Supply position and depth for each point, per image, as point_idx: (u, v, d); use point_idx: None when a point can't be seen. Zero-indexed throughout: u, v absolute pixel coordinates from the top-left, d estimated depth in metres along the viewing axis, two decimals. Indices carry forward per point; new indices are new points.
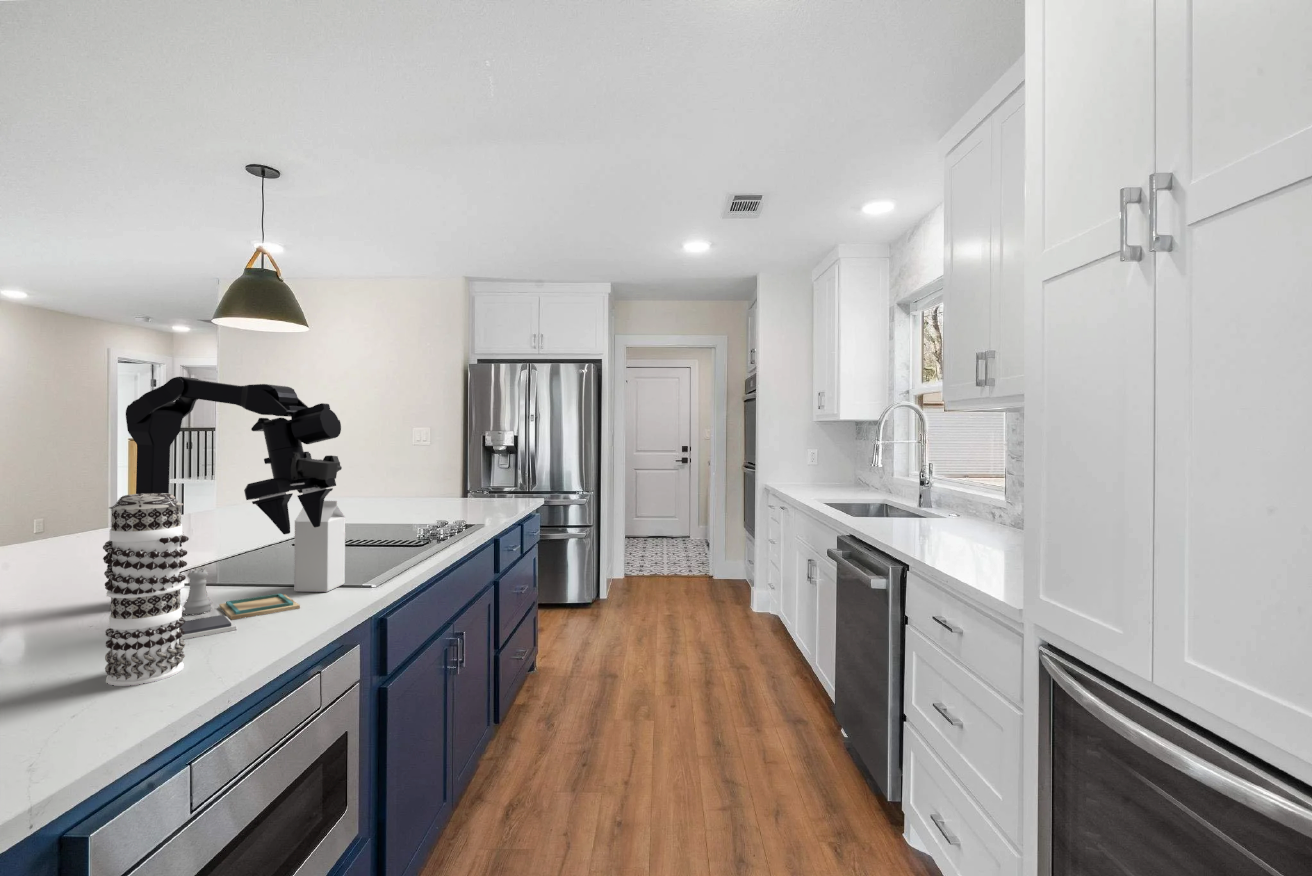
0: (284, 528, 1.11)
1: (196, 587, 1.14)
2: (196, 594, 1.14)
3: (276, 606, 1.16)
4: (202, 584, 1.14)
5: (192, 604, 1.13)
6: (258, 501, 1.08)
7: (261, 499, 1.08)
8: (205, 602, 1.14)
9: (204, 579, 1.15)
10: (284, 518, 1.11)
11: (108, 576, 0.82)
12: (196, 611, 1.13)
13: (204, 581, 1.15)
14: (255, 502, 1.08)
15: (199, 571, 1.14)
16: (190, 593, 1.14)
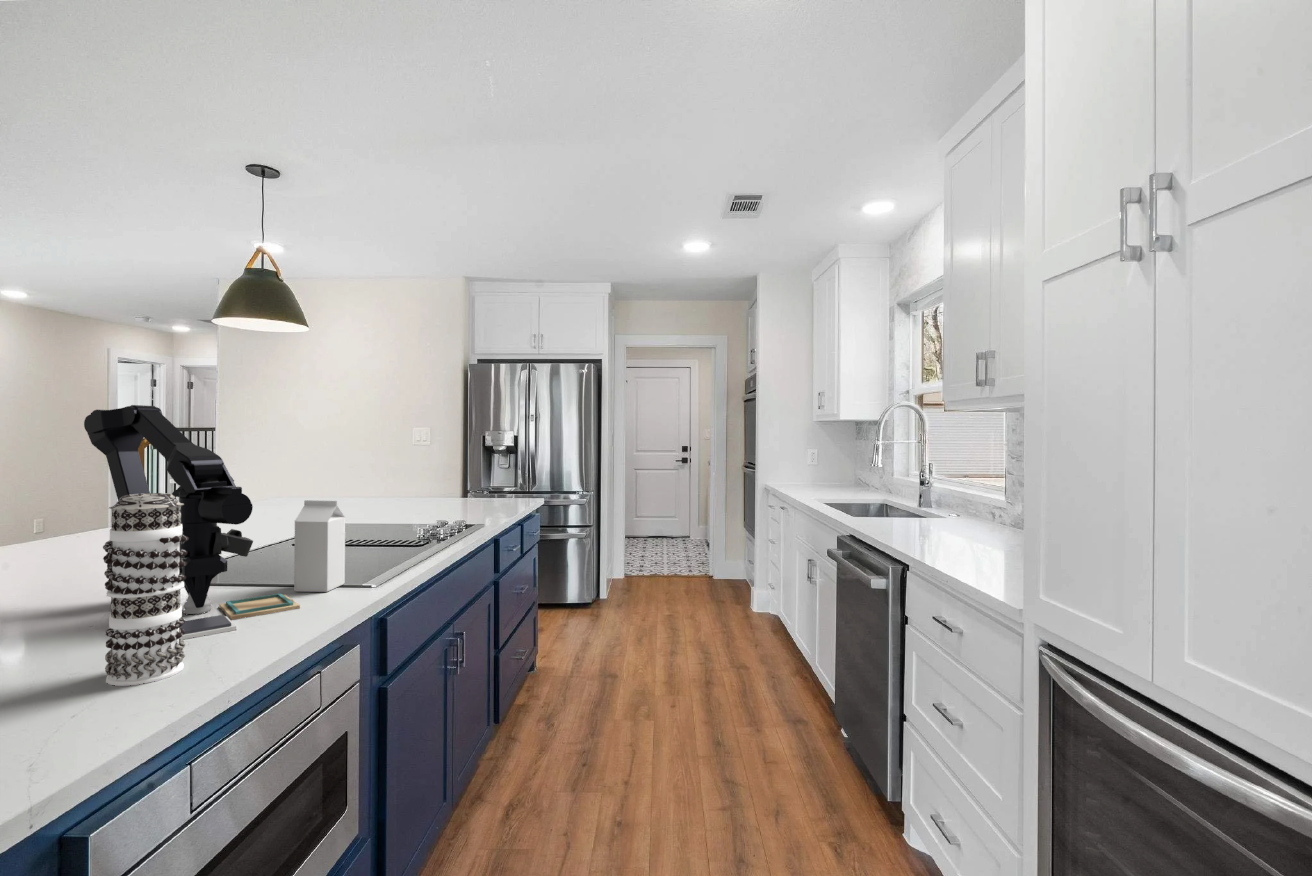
0: (200, 602, 1.13)
1: None
2: None
3: (276, 606, 1.16)
4: None
5: (192, 604, 1.13)
6: (193, 575, 1.10)
7: None
8: (205, 602, 1.14)
9: None
10: (206, 591, 1.13)
11: (108, 576, 0.82)
12: (196, 611, 1.13)
13: None
14: (188, 576, 1.09)
15: None
16: None
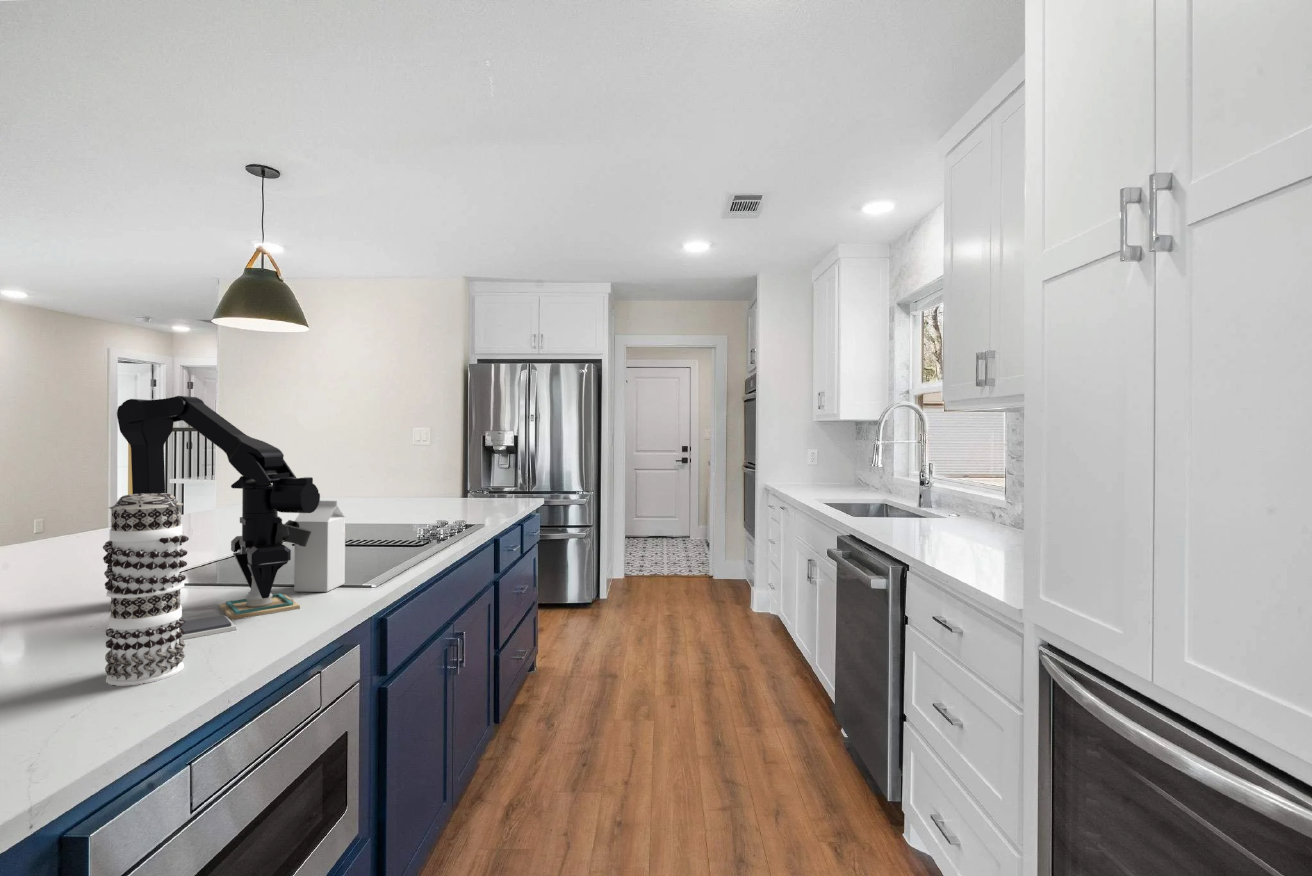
0: (266, 592, 1.14)
1: None
2: None
3: (276, 606, 1.16)
4: None
5: (255, 597, 1.16)
6: (261, 566, 1.11)
7: (264, 564, 1.11)
8: None
9: None
10: (271, 582, 1.15)
11: (108, 576, 0.82)
12: (258, 603, 1.16)
13: None
14: (256, 567, 1.11)
15: None
16: (253, 586, 1.17)
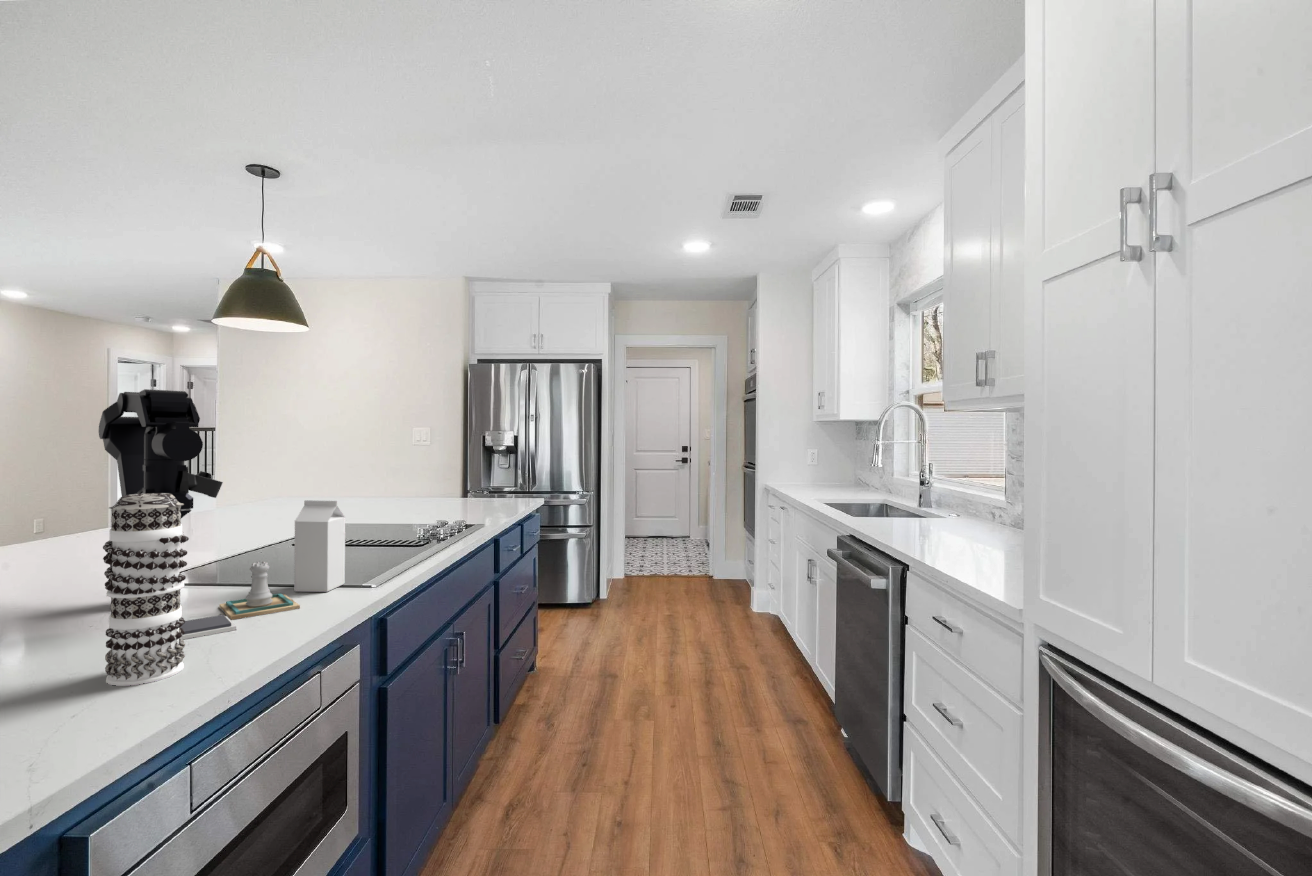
0: None
1: (259, 580, 1.17)
2: (258, 587, 1.17)
3: (276, 606, 1.16)
4: (264, 578, 1.18)
5: (255, 597, 1.16)
6: None
7: None
8: (267, 595, 1.17)
9: (265, 572, 1.18)
10: None
11: (108, 576, 0.82)
12: (258, 603, 1.16)
13: (266, 574, 1.18)
14: None
15: (261, 565, 1.17)
16: (253, 586, 1.17)
